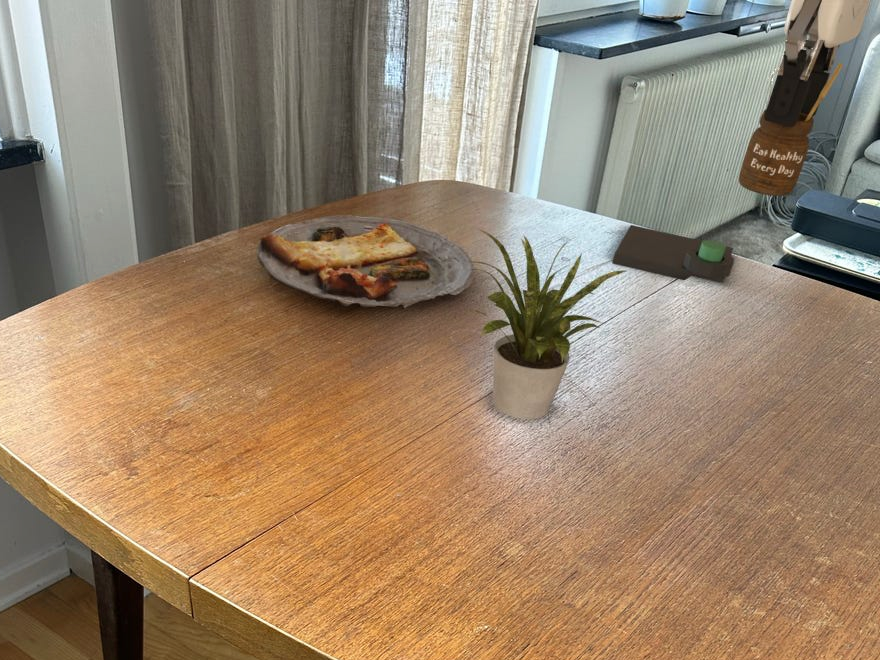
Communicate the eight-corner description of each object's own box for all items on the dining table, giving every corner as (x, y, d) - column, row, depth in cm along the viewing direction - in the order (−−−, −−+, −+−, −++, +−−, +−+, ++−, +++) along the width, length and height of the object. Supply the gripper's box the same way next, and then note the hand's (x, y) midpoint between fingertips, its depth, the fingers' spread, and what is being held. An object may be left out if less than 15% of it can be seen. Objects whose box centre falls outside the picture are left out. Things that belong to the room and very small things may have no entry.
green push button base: (733, 258, 128) (740, 236, 126) (723, 293, 118) (731, 269, 116) (628, 235, 130) (633, 212, 128) (610, 266, 121) (616, 242, 119)
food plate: (311, 332, 99) (313, 299, 97) (225, 248, 113) (224, 217, 111) (506, 302, 110) (512, 272, 107) (405, 228, 124) (408, 200, 121)
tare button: (722, 257, 120) (727, 243, 119) (719, 265, 118) (724, 251, 117) (698, 252, 121) (703, 238, 119) (696, 260, 118) (700, 245, 117)
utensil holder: (735, 174, 103) (775, 47, 95) (794, 185, 102) (839, 57, 94) (736, 190, 99) (777, 59, 91) (797, 201, 98) (844, 69, 90)
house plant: (403, 406, 90) (423, 229, 79) (483, 360, 98) (511, 195, 87) (530, 466, 84) (571, 285, 73) (603, 411, 93) (650, 243, 82)
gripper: (881, -100, 77) (796, 143, 89) (932, -104, 88) (850, 114, 100) (792, -115, 80) (722, 123, 92) (852, -116, 90) (782, 97, 103)
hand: (789, 116), depth 96 cm, fingers closed on utensil holder, 5 cm apart
